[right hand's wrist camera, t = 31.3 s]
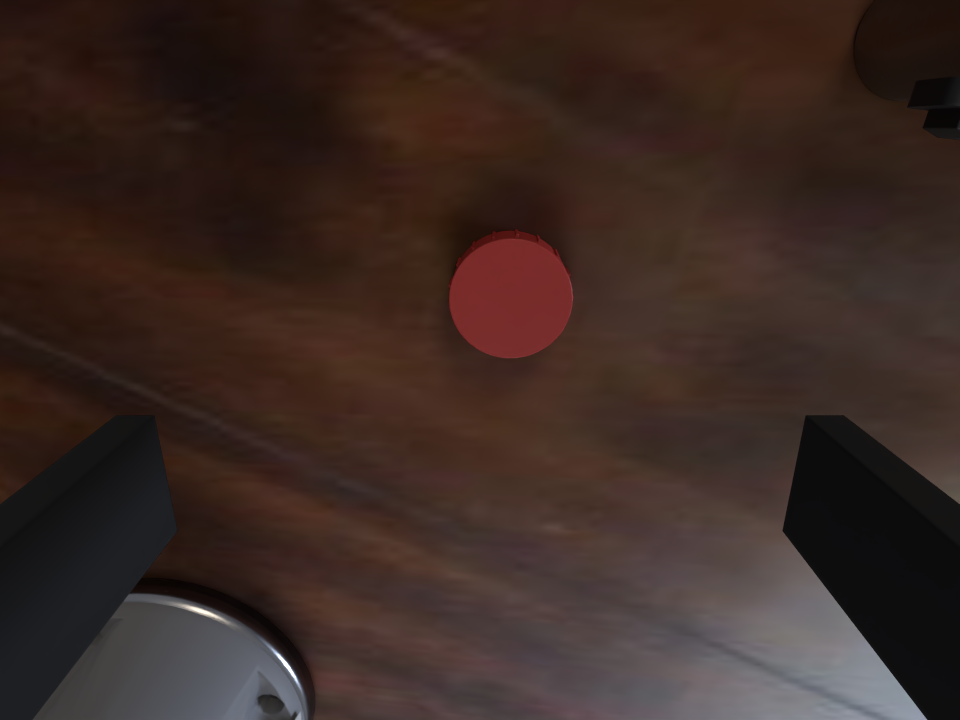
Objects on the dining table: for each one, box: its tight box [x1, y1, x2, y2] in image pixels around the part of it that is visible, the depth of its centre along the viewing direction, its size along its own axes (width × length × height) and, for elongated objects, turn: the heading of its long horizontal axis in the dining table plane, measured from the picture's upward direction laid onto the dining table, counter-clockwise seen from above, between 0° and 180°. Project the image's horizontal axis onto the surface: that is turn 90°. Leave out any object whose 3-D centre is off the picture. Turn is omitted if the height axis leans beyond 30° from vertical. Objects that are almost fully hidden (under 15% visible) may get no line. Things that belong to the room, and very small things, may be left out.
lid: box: [448, 229, 574, 358], centre depth 25 cm, size 5×5×2 cm
